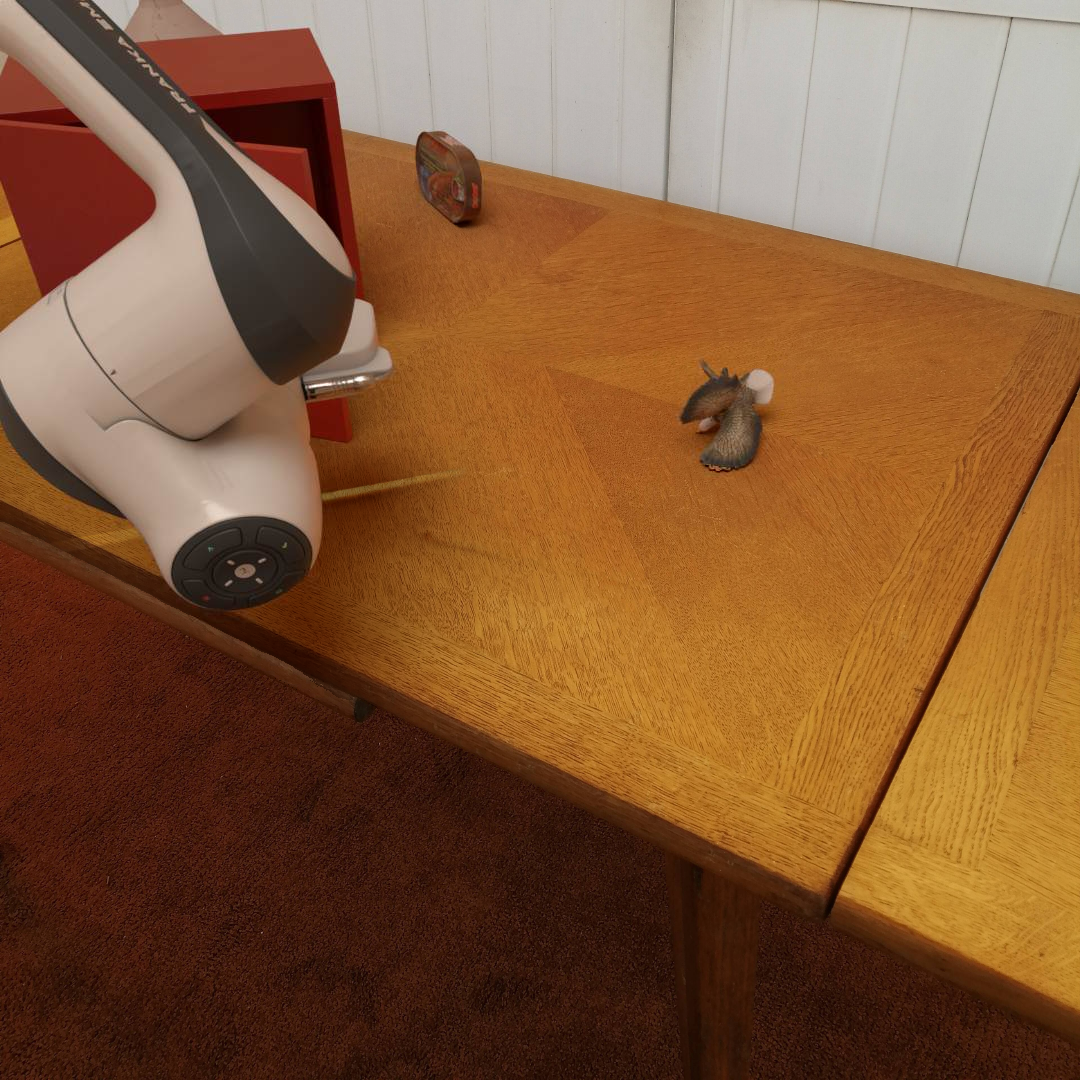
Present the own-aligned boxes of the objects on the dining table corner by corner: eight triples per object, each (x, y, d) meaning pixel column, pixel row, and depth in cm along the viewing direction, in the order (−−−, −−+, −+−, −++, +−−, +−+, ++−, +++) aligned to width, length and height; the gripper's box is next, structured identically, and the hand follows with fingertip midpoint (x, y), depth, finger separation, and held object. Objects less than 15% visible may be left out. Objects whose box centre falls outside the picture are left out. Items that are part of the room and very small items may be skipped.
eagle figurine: (671, 393, 88) (655, 432, 80) (724, 331, 84) (713, 367, 76) (738, 446, 88) (728, 490, 81) (793, 388, 85) (789, 428, 77)
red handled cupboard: (320, 480, 80) (262, 181, 65) (40, 431, 86) (-75, 147, 70) (353, 436, 85) (307, 148, 69) (85, 393, 91) (-13, 118, 75)
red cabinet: (371, 348, 97) (335, 81, 81) (83, 393, 91) (-17, 115, 75) (345, 270, 110) (309, 27, 94) (92, 304, 104) (8, 52, 88)
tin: (415, 191, 127) (409, 122, 121) (438, 186, 128) (433, 118, 123) (464, 234, 117) (459, 161, 111) (488, 229, 118) (485, 156, 112)
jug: (139, 148, 140) (72, -104, 121) (269, 139, 142) (224, -110, 123) (121, 201, 125) (41, -76, 106) (266, 190, 128) (214, -84, 108)
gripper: (393, 337, 62) (363, 247, 72) (43, 389, 58) (63, 287, 68) (404, 422, 66) (374, 326, 76) (77, 477, 62) (92, 368, 72)
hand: (225, 308), depth 72 cm, fingers closed
